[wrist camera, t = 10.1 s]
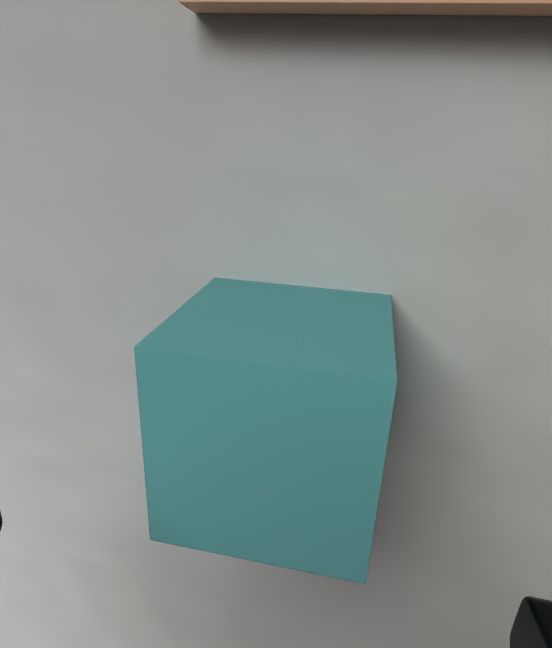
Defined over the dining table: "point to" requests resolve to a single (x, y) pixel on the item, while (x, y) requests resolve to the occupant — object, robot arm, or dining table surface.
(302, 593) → the dining table surface
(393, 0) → the baseplate
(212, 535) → the teal block
